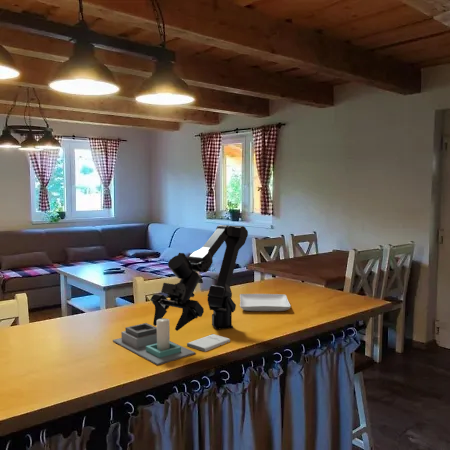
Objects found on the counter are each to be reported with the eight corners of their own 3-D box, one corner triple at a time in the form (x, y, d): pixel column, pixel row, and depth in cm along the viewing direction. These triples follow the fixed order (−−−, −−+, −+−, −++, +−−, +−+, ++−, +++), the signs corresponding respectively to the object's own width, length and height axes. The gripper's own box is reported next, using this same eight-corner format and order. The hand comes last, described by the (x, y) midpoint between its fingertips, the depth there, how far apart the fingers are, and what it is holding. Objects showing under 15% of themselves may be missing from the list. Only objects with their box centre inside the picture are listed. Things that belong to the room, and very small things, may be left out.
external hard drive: (186, 347, 154) (212, 337, 164) (205, 353, 149) (230, 343, 158) (186, 342, 154) (212, 333, 164) (204, 348, 149) (230, 338, 158)
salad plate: (291, 313, 193) (291, 305, 193) (239, 313, 194) (239, 305, 193) (285, 301, 214) (285, 293, 214) (239, 301, 215) (239, 293, 214)
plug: (162, 348, 151) (162, 317, 150) (172, 350, 149) (171, 319, 148) (154, 351, 148) (153, 320, 147) (163, 354, 145) (163, 322, 144)
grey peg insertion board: (112, 341, 159) (112, 326, 159) (148, 332, 168) (148, 319, 168) (157, 365, 138) (157, 348, 137) (195, 353, 147) (195, 338, 147)
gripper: (153, 269, 156) (130, 309, 148) (197, 275, 146) (175, 319, 138) (169, 288, 163) (148, 327, 155) (212, 295, 153) (192, 337, 145)
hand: (164, 327), depth 148 cm, fingers open, 9 cm apart
